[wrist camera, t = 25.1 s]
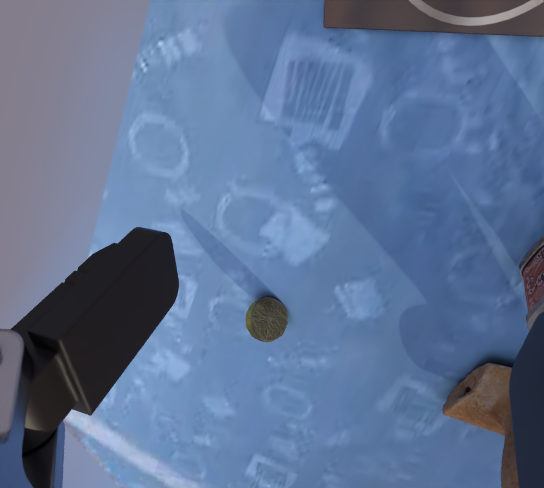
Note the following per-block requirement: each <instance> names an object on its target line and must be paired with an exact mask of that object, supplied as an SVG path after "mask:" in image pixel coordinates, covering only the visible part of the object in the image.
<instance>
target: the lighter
mask: <svg viewBox="0 0 544 488" xmlns="http://www.w3.org/2000/svg"><path fill="white" fill-rule="evenodd" d="M519 267H520V275H521V277H522V278H523V279H524V286H525V293H526V300H527V307H528V314H527V316H526V320H527V327H528V329H529V330H531V328H532V326H533V324H534V322H535V320H536V318H537V316H538V315H539V314H540V313H542V312H544V236H543V237H542V238H541V239H540V240H539V241H538V242H537V243H536V244H535V245H534V246H533V247H532V248H531V250H530V251H529V252H528V253H527V255H526V256H525V257H524V259H523V260H522V261H521V263H520V265H519Z"/></svg>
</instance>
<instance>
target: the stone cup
mask: <svg viewBox="0 0 544 488" xmlns="http://www.w3.org/2000/svg"><path fill="white" fill-rule="evenodd" d="M511 370H512V368H511V367H507V366H503V365H499V364H494V363H486V364H485V365H483V366H480V367H478V368H476V369H475V370H474V371H472V372H471V374H468V375H467V376H466V378H465V380H463V381H462V382H460V383H459V384H458V385H457V386H456V387H455V389H454V391H453V392H452V393H451V394H450V395H449V397H448V399H447V401H446V403H445V404H444V405H443V409H442V411H443V415H446V416H449V417H452V418H455V419H458V420H461V421H464V422H466V423H469V424H472V425H475V426H477V427H480V428H483V429H487V430H490V431H493V432H496V433H499V434H502V435H505V442H504V449H503V456H502V466H501V486H502V488H519V484H518V474H517V464H516V455H515V445H514V435H513V426H512V416H511V407H510V397H509V382H510V375H511Z"/></svg>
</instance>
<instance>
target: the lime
mask: <svg viewBox="0 0 544 488" xmlns="http://www.w3.org/2000/svg"><path fill="white" fill-rule="evenodd" d="M286 325H287V313H286V309H285V307H284V306H283V305H282V304H281V303H280V302H279V301H278V300H276V299H273V298H269V297H263V298H260V299H259V300H257V301H255V302H254V303H253V304H252V305H251V306H250V307H249V309H248V311H247V314H246V327H247V329H248V331H249V332H250V334H251V335H252V336H253V337H254V338H255V339H257V340H259V341H263V342H271V341H274V340H275V339H277V338H279V337H280V336H282V334H283V333H284V331H285V328H286Z"/></svg>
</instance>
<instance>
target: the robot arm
mask: <svg viewBox="0 0 544 488" xmlns="http://www.w3.org/2000/svg"><path fill="white" fill-rule="evenodd" d="M178 289H179V279H178V273H177V267H176V262H175V256H174V250H173V244H172V239H171V236H170V235H169V234H168V233H166V232H161V231H156V230H152V229H147V228H142V227H136V228H134V229H133V230H132V231H131V232H130V233H128V234H127V235H126V236H125V237H124V238H123V239H122V240H121V241H120V242H119V243H118V244H117V243H113V244H111V245H109V246H107V247H105V248H103V249H101V250H99V251H98V252H96V253H94V254H92V255H91V256H90V257H89V258H88V259H87V260H86V261H85V262H84V263H83V264H82V265H80V266H79V267H78V270H77V271H74V272H73V273H72V274H71V275H69V276H68V277H67V278H66V279H65V282H64V283H61V284H60V285H59V286H57V287H56V288H55V289H54V290H53V291H52V292H51V293H50V294H49V295H48V296H47V297H46V298H45V299H43V300H42V301H41V302H40V303H39V304H38V305H37V306H36V307H35V308H33V310H31V311H30V312H29V313H28V314H27V315H26V316H25V317H24V318H23V319H22V320H20V321H19V322H18V323H17V324H16V325H15V326H14V327H13V328H11V329H10V330H9V329H0V488H62V481H63V460H64V440H65V425H64V421H63V420H64V418H65V417H66V416H67V415H68V413H69V412H70V411H71V409H73V410H76V411H79V412H82V413H85V414H88V415H90V416H91V415H92V414H93V412H94V411H95V410H96V408H97V407H98V406H99V404H100V403H101V402H102V400H103V399H104V398H105V396H106V395H107V393H108V392H109V391H110V389H111V388H112V387H113V385H114V384H115V383H116V381H117V380H118V379H119V377H120V376H121V375H122V373H123V372H124V371H125V369H126V368H127V366H128V365H129V364H130V362H131V361H132V360H133V358H134V357H135V356H136V354H137V353H138V352H139V350H140V349H141V348H142V346H143V345H144V344H145V342H146V341H147V339H148V338H149V337H150V335H151V334H152V333H153V331H154V330H155V329H156V327H157V326H158V325H159V323H160V322H161V321H162V319H163V318H164V317H165V315H166V314H167V312H168V311H169V310H170V308H171V307H172V306H173V304H174V302H175V300H176V297H177V294H178ZM509 397H510V407H511V416H512V426H513V435H514V445H515V455H516V464H517V474H518V484H519V488H544V312H542V313H540V314H539V315H538V316H537V318H536V320H535V322H534V324H533V326H532V328H531V330H530V332H529V334H528V336H527V338H526V340H525V342H524V344H523V346H522V348H521V350H520V352H519V354H518V356H517V358H516V360H515V362H514V364H513V367H512V370H511V375H510V382H509Z"/></svg>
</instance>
